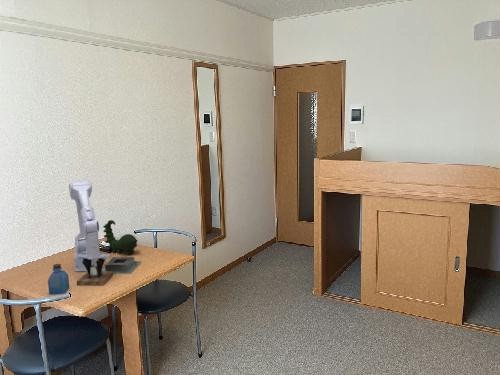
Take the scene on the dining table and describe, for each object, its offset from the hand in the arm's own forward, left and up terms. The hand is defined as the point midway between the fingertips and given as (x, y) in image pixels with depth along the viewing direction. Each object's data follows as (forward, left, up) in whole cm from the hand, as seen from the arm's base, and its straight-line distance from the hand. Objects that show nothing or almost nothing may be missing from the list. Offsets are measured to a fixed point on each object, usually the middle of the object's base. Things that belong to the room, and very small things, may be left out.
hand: (95, 274), depth 192 cm
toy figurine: (-2, +40, -3) cm, 40 cm away
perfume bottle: (-11, -12, -3) cm, 17 cm away
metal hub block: (+6, +16, -3) cm, 17 cm away
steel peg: (0, 0, -3) cm, 3 cm away
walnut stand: (0, 0, -3) cm, 3 cm away
